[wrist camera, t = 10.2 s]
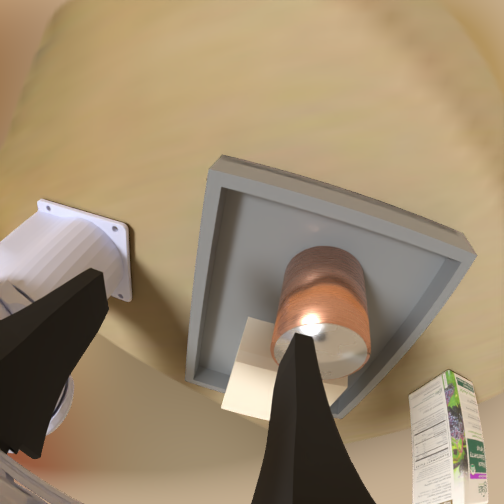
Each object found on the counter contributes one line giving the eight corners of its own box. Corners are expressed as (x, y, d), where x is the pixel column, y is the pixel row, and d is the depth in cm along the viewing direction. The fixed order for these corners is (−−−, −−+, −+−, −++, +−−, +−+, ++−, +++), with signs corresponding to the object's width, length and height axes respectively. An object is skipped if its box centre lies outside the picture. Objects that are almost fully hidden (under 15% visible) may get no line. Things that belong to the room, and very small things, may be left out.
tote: (192, 361, 30) (184, 380, 28) (222, 154, 17) (208, 168, 15) (342, 398, 29) (341, 418, 27) (463, 233, 17) (477, 255, 15)
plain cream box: (231, 370, 28) (220, 408, 25) (248, 316, 23) (235, 360, 20) (312, 390, 28) (308, 428, 24) (347, 342, 23) (347, 387, 20)
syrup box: (473, 381, 25) (492, 502, 13) (434, 406, 28) (441, 519, 17) (448, 367, 24) (466, 507, 12) (405, 395, 28) (409, 523, 16)
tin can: (276, 297, 22) (260, 369, 17) (296, 236, 19) (284, 309, 14) (346, 314, 21) (346, 388, 16) (376, 258, 18) (389, 334, 13)
